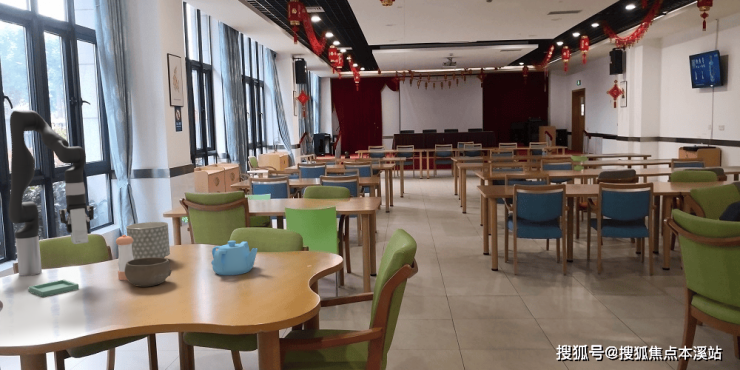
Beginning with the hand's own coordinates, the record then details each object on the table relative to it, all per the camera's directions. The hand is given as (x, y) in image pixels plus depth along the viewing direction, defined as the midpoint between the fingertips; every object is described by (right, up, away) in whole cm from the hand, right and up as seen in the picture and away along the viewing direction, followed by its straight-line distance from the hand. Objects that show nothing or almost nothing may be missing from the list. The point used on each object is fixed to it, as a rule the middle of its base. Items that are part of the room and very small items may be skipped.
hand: (78, 231), depth 263 cm
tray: (-4, -23, -13) cm, 27 cm away
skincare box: (0, -5, +1) cm, 5 cm away
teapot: (+66, -19, +8) cm, 69 cm away
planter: (+18, -18, +35) cm, 43 cm away
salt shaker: (+20, -21, +3) cm, 29 cm away
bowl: (+34, -22, -9) cm, 41 cm away
